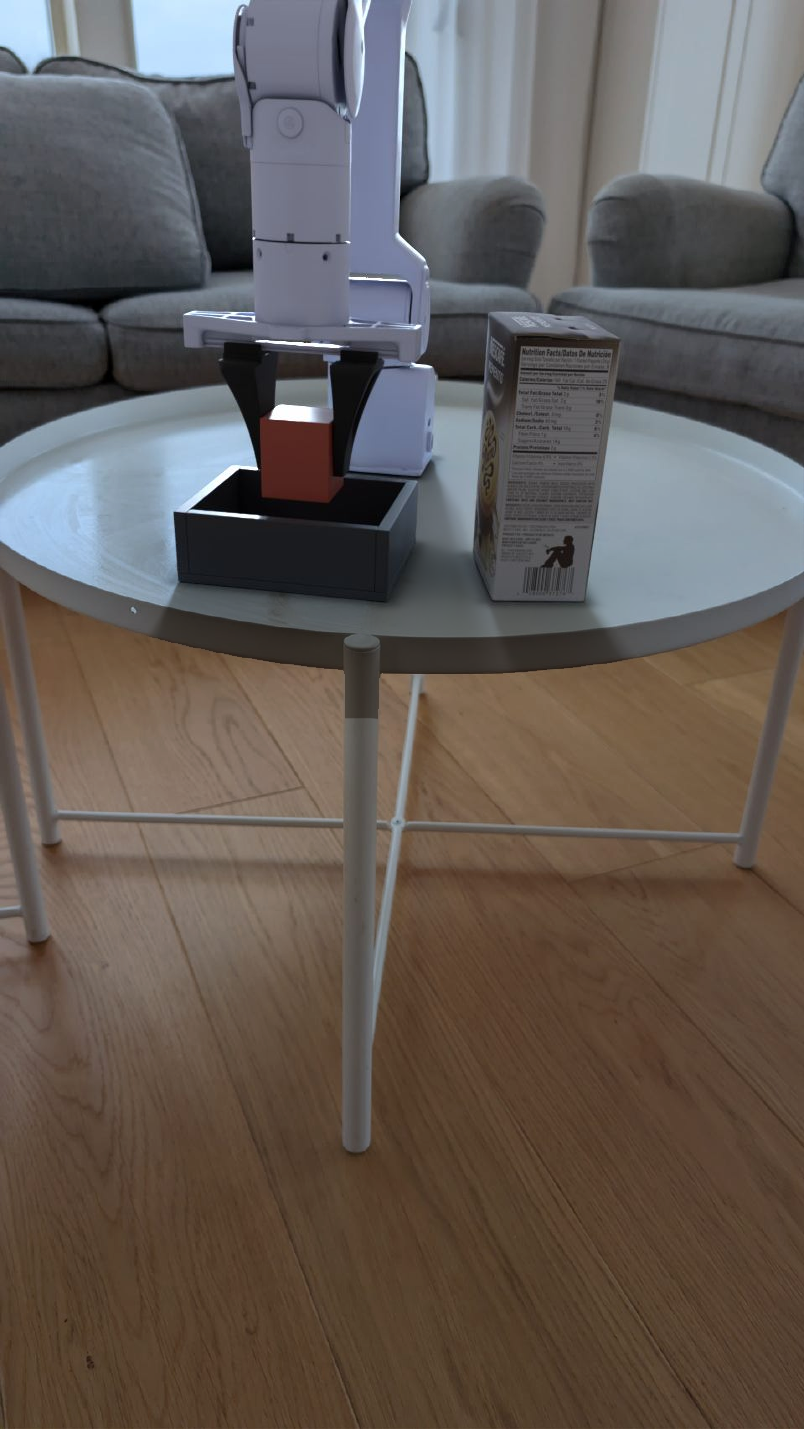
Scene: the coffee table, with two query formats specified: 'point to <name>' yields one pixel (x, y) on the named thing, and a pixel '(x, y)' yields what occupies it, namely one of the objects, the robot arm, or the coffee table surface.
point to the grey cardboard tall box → (542, 453)
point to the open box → (298, 537)
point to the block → (298, 454)
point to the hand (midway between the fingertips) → (303, 470)
